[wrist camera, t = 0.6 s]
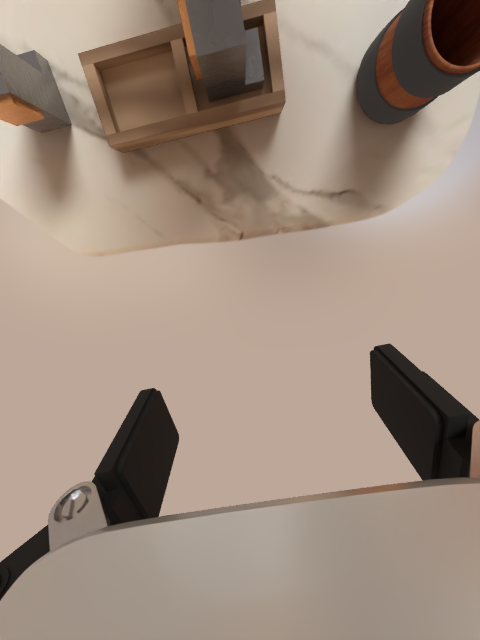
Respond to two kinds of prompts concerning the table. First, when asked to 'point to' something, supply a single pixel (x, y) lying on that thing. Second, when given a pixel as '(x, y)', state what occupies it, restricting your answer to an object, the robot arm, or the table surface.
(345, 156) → the table surface
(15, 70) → the finger
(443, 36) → the mug
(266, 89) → the wooden divided tray
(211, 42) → the twin finger
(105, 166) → the table surface
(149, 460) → the robot arm
